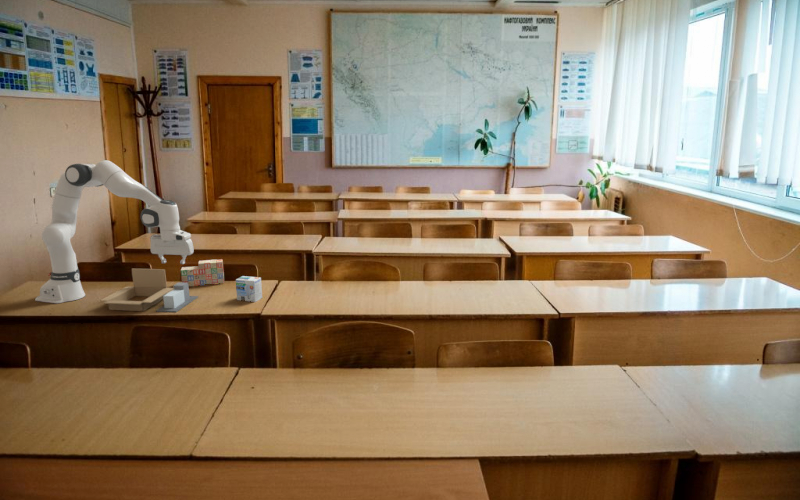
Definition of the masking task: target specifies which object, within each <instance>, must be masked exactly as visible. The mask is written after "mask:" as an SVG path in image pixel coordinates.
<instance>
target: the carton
mask: <svg viewBox="0 0 800 500" xmlns="http://www.w3.org/2000/svg"><path fill="white" fill-rule="evenodd" d="M131 277H132V282H133V286H125V287H122V288H121V289H119V290H116V291H115V292H113V293H111V294H109V295H107V296H106V297H104V298H102V299H100V300H99V302H103V304H104V305H106V304H107V305H108V306H107V307H108V310H109V311H112V310H113V311H130V312H131V311H134V312H137V311H138V312H145V311H146V310H148V309H149V308H151V307H153V306H155V305H157V304H158V303H159V302H161V301H162V300H164V299H163V296H164V295H166V294H167V293H169V292H170V291H172V290H174V287H168V285H167V277H166V269H160V268H158V269H157V268H131ZM134 297H147V298H145V299H143V300H131V299H132V298H134Z"/></svg>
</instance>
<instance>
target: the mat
mask: <svg viewBox="0 0 800 500" xmlns="http://www.w3.org/2000/svg"><path fill="white" fill-rule="evenodd" d="M189 296H190V298H189V299H188V300H186V301H185V302H183V303H182V304H180V305H179V306H177V307H176V308H164V305H162V306H161V307H159V308H157V309H156V310H155V312H156V313H177V312H179V311H180V310H183V308H185V307H186V306H188V305H190V303H192V302H193V300H194V301H196V299H198V298H199V295H189Z"/></svg>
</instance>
